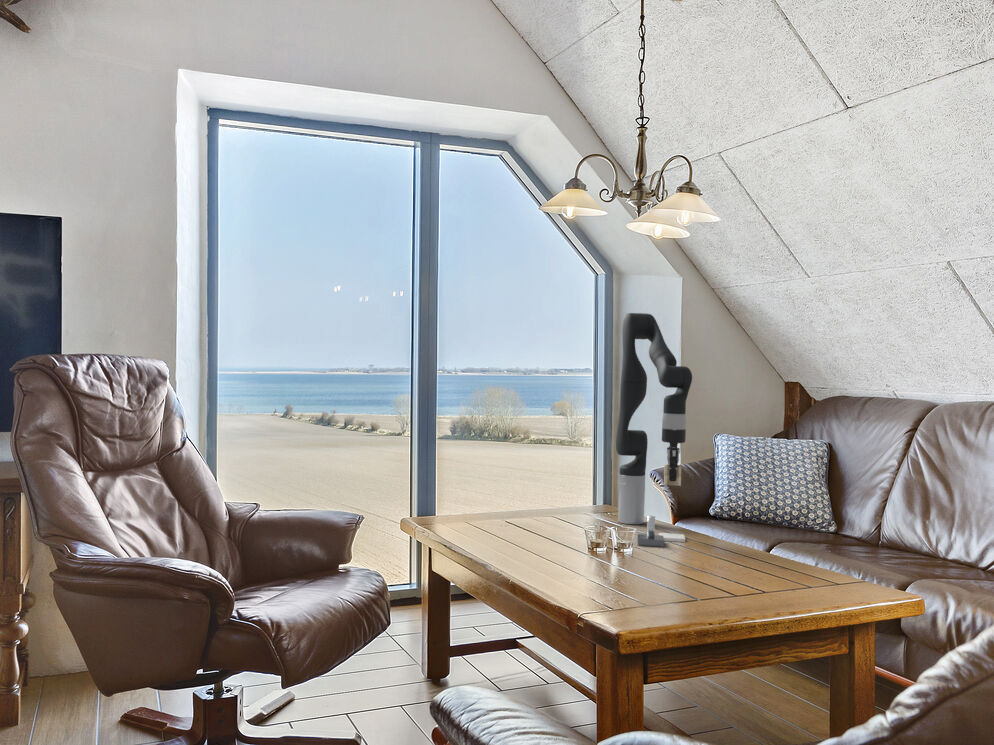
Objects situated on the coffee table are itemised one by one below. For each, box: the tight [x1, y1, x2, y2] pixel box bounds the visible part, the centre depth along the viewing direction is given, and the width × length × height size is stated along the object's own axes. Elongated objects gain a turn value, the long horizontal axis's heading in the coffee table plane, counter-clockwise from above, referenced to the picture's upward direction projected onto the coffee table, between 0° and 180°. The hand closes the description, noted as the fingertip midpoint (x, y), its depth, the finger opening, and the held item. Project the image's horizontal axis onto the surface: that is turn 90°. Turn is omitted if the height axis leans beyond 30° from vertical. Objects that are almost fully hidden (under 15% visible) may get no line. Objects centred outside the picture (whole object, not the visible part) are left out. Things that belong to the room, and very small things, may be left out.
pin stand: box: [637, 515, 665, 548], centre depth 258 cm, size 8×8×8 cm
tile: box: [658, 532, 686, 543], centre depth 267 cm, size 8×8×1 cm
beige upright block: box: [663, 463, 682, 487], centre depth 267 cm, size 5×5×6 cm
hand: (672, 479), depth 267 cm, fingers closed on beige upright block, 5 cm apart
